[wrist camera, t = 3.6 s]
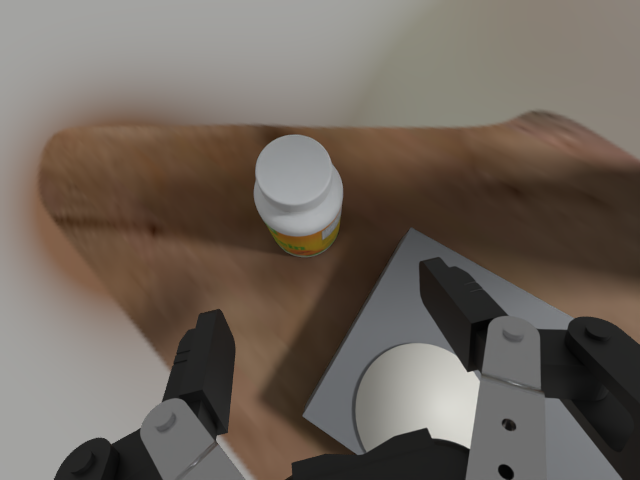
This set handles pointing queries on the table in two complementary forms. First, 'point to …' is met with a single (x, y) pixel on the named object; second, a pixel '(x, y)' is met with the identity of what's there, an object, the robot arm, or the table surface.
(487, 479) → the robot arm
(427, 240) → the plinth
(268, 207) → the supplement bottle
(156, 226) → the table surface
